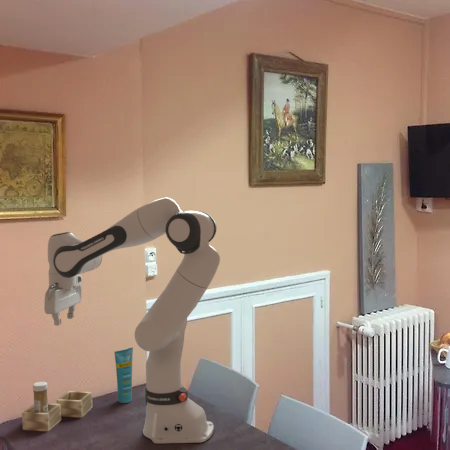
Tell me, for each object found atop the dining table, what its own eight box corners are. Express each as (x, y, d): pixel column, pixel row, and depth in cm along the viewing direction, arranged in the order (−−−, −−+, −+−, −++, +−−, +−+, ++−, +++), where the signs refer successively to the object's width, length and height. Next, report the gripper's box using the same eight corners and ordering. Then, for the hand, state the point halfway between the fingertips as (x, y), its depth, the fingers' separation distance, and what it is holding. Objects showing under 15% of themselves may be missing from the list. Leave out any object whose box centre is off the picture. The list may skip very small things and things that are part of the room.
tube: (120, 405, 210) (118, 352, 209) (112, 402, 214) (110, 350, 212) (137, 399, 216) (135, 348, 214) (129, 396, 219) (128, 345, 218)
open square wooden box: (61, 420, 198) (60, 403, 198) (48, 431, 190) (47, 414, 189) (36, 418, 200) (35, 402, 200) (22, 429, 191) (21, 412, 191)
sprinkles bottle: (50, 423, 194) (49, 383, 193) (36, 427, 192) (34, 386, 191) (46, 419, 198) (44, 380, 197) (32, 422, 195) (31, 382, 194)
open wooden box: (92, 407, 209) (91, 392, 209) (81, 417, 200) (81, 401, 200) (68, 406, 211) (68, 390, 210) (57, 416, 202) (56, 400, 202)
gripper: (56, 286, 186) (58, 329, 187) (84, 276, 206) (85, 315, 207) (38, 286, 188) (40, 329, 189) (67, 275, 208) (69, 314, 209)
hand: (64, 321), depth 198 cm, fingers open, 8 cm apart
